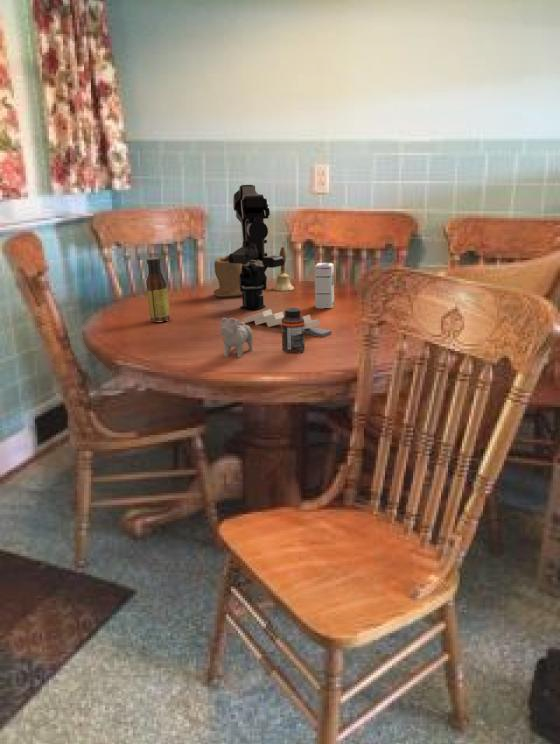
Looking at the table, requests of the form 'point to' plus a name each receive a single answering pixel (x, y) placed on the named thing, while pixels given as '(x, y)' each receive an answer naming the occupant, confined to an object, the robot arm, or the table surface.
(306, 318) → the domino
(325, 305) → the syrup box
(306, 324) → the domino
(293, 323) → the supplement bottle
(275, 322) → the domino
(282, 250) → the hand bell
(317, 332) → the domino
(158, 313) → the sauce bottle
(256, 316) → the domino
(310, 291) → the table surface
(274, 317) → the domino
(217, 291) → the stone cup
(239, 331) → the grey animal figure
